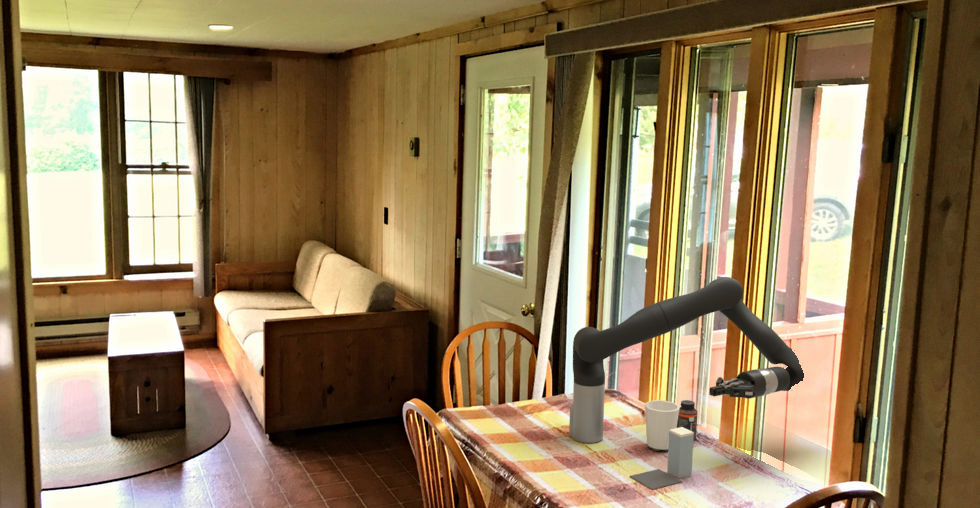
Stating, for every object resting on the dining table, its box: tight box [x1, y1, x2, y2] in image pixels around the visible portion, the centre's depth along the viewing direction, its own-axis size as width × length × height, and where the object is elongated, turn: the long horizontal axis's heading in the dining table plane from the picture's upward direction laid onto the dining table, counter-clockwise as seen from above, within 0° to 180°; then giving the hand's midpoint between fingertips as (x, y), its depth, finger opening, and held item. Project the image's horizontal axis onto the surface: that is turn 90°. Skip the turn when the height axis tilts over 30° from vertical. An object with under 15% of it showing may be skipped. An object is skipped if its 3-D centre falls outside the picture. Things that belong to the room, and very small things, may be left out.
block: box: [666, 427, 694, 479], centre depth 218 cm, size 4×4×12 cm
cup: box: [644, 399, 680, 453], centre depth 236 cm, size 10×10×13 cm
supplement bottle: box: [677, 399, 698, 441], centre depth 243 cm, size 6×6×11 cm
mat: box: [629, 468, 683, 491], centre depth 214 cm, size 9×10×1 cm
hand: (711, 392), depth 220 cm, fingers closed
